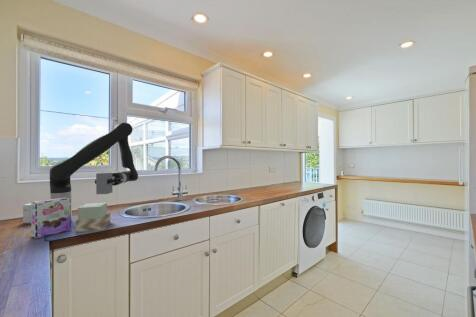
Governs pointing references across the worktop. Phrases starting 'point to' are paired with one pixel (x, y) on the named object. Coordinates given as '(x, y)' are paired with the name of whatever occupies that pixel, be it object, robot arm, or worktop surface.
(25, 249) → the worktop surface
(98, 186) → the grey block
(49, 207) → the candy box
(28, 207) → the small box
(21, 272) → the worktop surface
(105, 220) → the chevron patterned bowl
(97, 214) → the sage block
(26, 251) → the worktop surface
